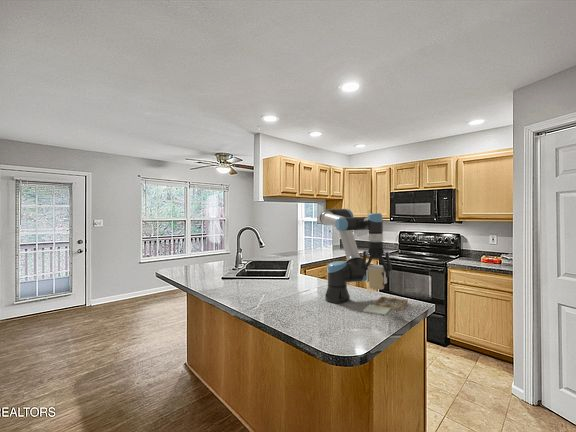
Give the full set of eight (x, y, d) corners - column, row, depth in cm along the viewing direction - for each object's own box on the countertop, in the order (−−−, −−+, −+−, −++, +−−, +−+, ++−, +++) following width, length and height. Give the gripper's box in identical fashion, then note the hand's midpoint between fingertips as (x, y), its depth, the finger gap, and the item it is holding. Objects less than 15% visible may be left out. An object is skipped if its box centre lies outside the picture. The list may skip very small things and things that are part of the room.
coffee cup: (386, 290, 153) (386, 267, 153) (368, 289, 155) (368, 267, 155) (384, 286, 162) (384, 264, 162) (367, 285, 164) (366, 264, 164)
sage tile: (362, 311, 157) (362, 310, 157) (369, 305, 167) (369, 304, 167) (385, 315, 150) (385, 313, 150) (391, 309, 160) (391, 307, 160)
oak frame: (374, 306, 166) (374, 302, 166) (381, 299, 178) (381, 296, 178) (401, 310, 158) (401, 306, 158) (407, 303, 170) (407, 299, 170)
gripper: (354, 241, 161) (355, 281, 161) (394, 242, 150) (395, 286, 149) (359, 240, 168) (359, 279, 168) (397, 241, 156) (398, 283, 156)
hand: (376, 282), depth 158 cm, fingers closed on coffee cup, 9 cm apart
